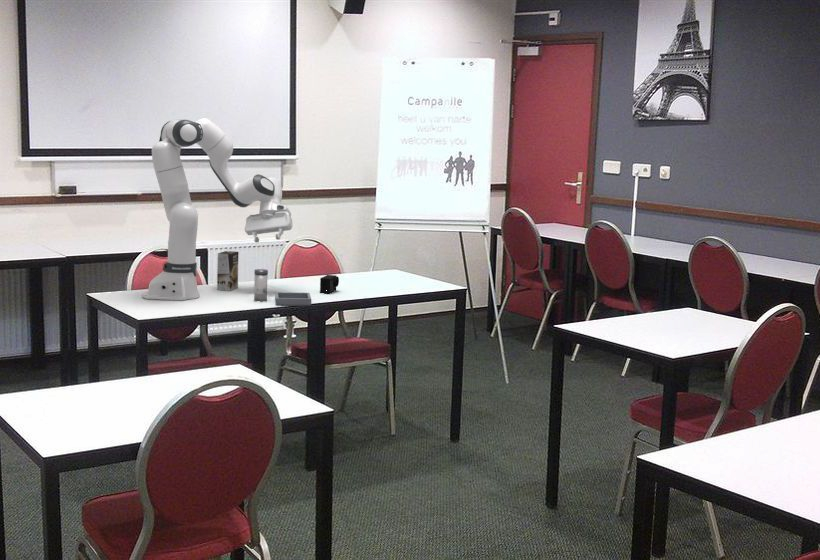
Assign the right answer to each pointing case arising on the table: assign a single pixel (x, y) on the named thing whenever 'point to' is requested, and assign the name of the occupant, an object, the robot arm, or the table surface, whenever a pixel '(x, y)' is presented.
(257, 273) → the shaker
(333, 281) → the digital camera
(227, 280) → the coffee box
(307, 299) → the tray
